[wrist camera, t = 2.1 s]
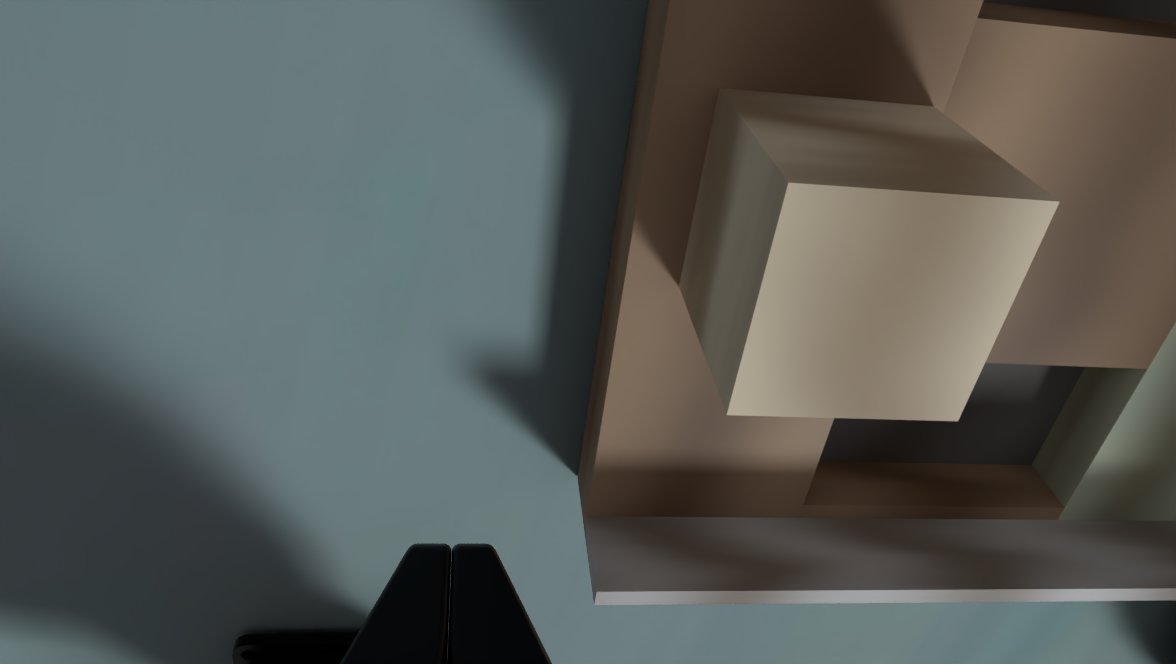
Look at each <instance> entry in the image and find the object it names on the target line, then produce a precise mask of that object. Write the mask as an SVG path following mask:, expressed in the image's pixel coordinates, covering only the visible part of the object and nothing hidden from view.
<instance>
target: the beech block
mask: <svg viewBox="0 0 1176 664" xmlns="http://www.w3.org/2000/svg"><path fill="white" fill-rule="evenodd" d="M1059 202H1060V201H1058V200H1057V199H1056V198H1054V197H1053V196H1052V195H1050V194H1049V193H1048V192H1046V191H1045V190H1044V189H1042V188H1041V187H1040V186H1038V185H1037V184H1036V183H1034V182H1033V181H1032V180H1030V179H1029V178H1028V177H1027V176H1025V175H1024V174H1023V173H1021V172H1020V171H1019V170H1017V169H1016V168H1015V167H1013V166H1012V165H1011V164H1009V163H1008V162H1007V161H1005V160H1004V159H1003V158H1001V157H1000V156H999V155H997V154H996V153H995V152H993V151H992V150H991V149H989V148H988V147H987V146H986V145H984V144H983V143H982V142H980V141H979V140H978V139H976V138H975V137H974V136H972V135H971V134H970V133H968V132H967V131H966V130H964V129H963V128H962V127H960V126H959V125H958V124H956V123H955V122H954V121H952V120H951V119H950V118H948V117H947V116H946V115H945V114H943V113H942V112H941V111H939V110H938V109H937V108H935V107H934V106H923V105H911V104H900V103H888V102H876V101H865V100H853V99H842V98H830V97H819V96H807V95H796V94H784V93H773V92H761V91H749V90H738V89H726V88H719V92H718V97H717V102H716V107H715V112H714V117H713V122H712V126H711V131H710V136H709V141H708V146H707V151H706V156H705V161H704V166H703V171H702V176H701V180H700V185H699V190H698V195H697V200H696V205H695V210H694V215H693V220H692V225H691V230H690V234H689V239H688V244H687V249H686V254H685V259H684V264H683V269H682V274H681V279H680V284H679V289H680V291H681V294H682V297H683V299H684V302H685V305H686V307H687V310H688V313H689V315H690V318H691V321H692V323H693V326H694V329H695V332H696V334H697V337H698V340H699V342H700V345H701V348H702V350H703V353H704V356H705V358H706V361H707V364H708V366H709V369H710V372H711V375H712V377H713V380H714V383H715V385H716V388H717V391H718V393H719V396H720V399H721V401H722V404H723V407H724V410H725V412H726V415H738V416H776V417H813V418H851V419H889V420H926V421H958V420H959V418H960V416H961V414H962V412H963V409H964V407H965V405H966V403H967V401H968V399H969V397H970V394H971V392H972V390H973V388H974V386H975V384H976V381H977V379H978V377H979V375H980V373H981V371H982V368H983V366H984V364H985V362H986V360H987V358H988V356H989V353H990V351H991V349H992V347H993V345H994V343H995V340H996V338H997V336H998V334H999V332H1000V330H1001V327H1002V325H1003V323H1004V321H1005V319H1006V317H1007V314H1008V312H1009V310H1010V308H1011V306H1012V304H1013V302H1014V299H1015V297H1016V295H1017V293H1018V291H1019V289H1020V286H1021V284H1022V282H1023V280H1024V278H1025V276H1026V273H1027V271H1028V269H1029V267H1030V265H1031V263H1032V261H1033V258H1034V256H1035V254H1036V252H1037V250H1038V248H1039V245H1040V243H1041V241H1042V239H1043V237H1044V235H1045V232H1046V230H1047V228H1048V226H1049V224H1050V222H1051V219H1052V217H1053V215H1054V213H1055V211H1056V209H1057V207H1058V204H1059Z"/></svg>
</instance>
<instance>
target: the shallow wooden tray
mask: <svg viewBox="0 0 1176 664" xmlns="http://www.w3.org/2000/svg"><path fill="white" fill-rule="evenodd" d="M719 88H726V89H738V90H749V91H761V92H773V93H784V94H796V95H807V96H819V97H830V98H842V99H853V100H865V101H876V102H888V103H900V104H911V105H923V106H934V107H935V108H937V109H938V110H939V111H941V112H942V113H943V114H945V115H946V116H947V117H948V118H950V119H951V120H952V121H954V122H955V123H956V124H958V125H959V126H960V127H962V128H963V129H964V130H966V131H967V132H968V133H970V134H971V135H972V136H974V137H975V138H976V139H978V140H979V141H980V142H982V143H983V144H984V145H986V146H987V147H988V148H989V149H991V150H992V151H993V152H995V153H996V154H997V155H999V156H1000V157H1001V158H1003V159H1004V160H1005V161H1007V162H1008V163H1009V164H1011V165H1012V166H1013V167H1015V168H1016V169H1017V170H1019V171H1020V172H1021V173H1023V174H1024V175H1025V176H1027V177H1028V178H1029V179H1030V180H1032V181H1033V182H1034V183H1036V184H1037V185H1038V186H1040V187H1041V188H1042V189H1044V190H1045V191H1046V192H1048V193H1049V194H1050V195H1052V196H1053V197H1054V198H1056V199H1057V200H1058V201H1060V202H1059V204H1058V207H1057V209H1056V211H1055V213H1054V215H1053V217H1052V219H1051V222H1050V224H1049V226H1048V228H1047V230H1046V232H1045V235H1044V237H1043V239H1042V241H1041V243H1040V245H1039V248H1038V250H1037V252H1036V254H1035V256H1034V258H1033V261H1032V263H1031V265H1030V267H1029V269H1028V271H1027V273H1026V276H1025V278H1024V280H1023V282H1022V284H1021V286H1020V289H1019V291H1018V293H1017V295H1016V297H1015V299H1014V302H1013V304H1012V306H1011V308H1010V310H1009V312H1008V314H1007V317H1006V319H1005V321H1004V323H1003V325H1002V327H1001V330H1000V332H999V334H998V336H997V338H996V340H995V343H994V345H993V347H992V349H991V351H990V353H989V356H988V358H987V360H986V362H985V364H984V366H983V368H982V371H981V373H980V375H979V377H978V379H977V381H976V384H975V386H974V388H973V390H972V392H971V394H970V397H969V399H968V401H967V403H966V405H965V407H964V409H963V412H962V414H961V416H960V418H959V420H958V421H926V420H889V419H851V418H813V417H776V416H738V415H726V412H725V410H724V407H723V404H722V401H721V399H720V396H719V393H718V391H717V388H716V385H715V383H714V380H713V377H712V375H711V372H710V369H709V366H708V364H707V361H706V358H705V356H704V353H703V350H702V348H701V345H700V342H699V340H698V337H697V334H696V332H695V329H694V326H693V323H692V321H691V318H690V315H689V313H688V310H687V307H686V305H685V302H684V299H683V297H682V294H681V291H680V289H679V284H680V279H681V274H682V269H683V264H684V259H685V254H686V249H687V244H688V239H689V234H690V230H691V225H692V220H693V215H694V210H695V205H696V200H697V195H698V190H699V185H700V180H701V176H702V171H703V166H704V161H705V156H706V151H707V146H708V141H709V136H710V131H711V126H712V122H713V117H714V112H715V107H716V102H717V97H718V92H719ZM578 484H579V492H580V499H581V507H582V515H583V523H584V530H585V538H586V546H587V553H588V561H589V569H590V577H591V584H592V592H593V600H594V605H669V604H791V603H914V602H1036V601H1159V600H1176V0H649V1H648V7H647V14H646V21H645V28H644V34H643V41H642V48H641V54H640V61H639V68H638V75H637V81H636V88H635V95H634V102H633V108H632V115H631V122H630V129H629V135H628V142H627V149H626V156H625V162H624V169H623V176H622V183H621V189H620V196H619V203H618V210H617V216H616V223H615V230H614V236H613V243H612V250H611V257H610V263H609V270H608V277H607V284H606V290H605V297H604V304H603V311H602V317H601V324H600V331H599V338H598V344H597V351H596V358H595V365H594V371H593V378H592V385H591V392H590V398H589V405H588V412H587V418H586V425H585V432H584V439H583V445H582V452H581V459H580V466H579V472H578Z"/></svg>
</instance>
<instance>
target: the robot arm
mask: <svg viewBox="0 0 1176 664" xmlns="http://www.w3.org/2000/svg"><path fill="white" fill-rule="evenodd" d="M450 575H451V586H450ZM449 600H450V609H449ZM448 624H449V633H448ZM447 648H448V658H447ZM232 656H233V661H234V664H552V663H551V661H550V659H549V657H548V655H547V653H546V651H545V649H544V647H543V645H542V643H541V641H540V639H539V637H538V635H537V633H536V631H535V629H534V627H533V625H532V623H531V621H530V619H529V617H528V615H527V612H526V610H525V608H524V606H523V604H522V602H521V600H520V598H519V596H518V594H517V592H516V590H515V588H514V586H513V584H512V582H511V580H510V578H509V576H508V574H507V572H506V570H505V568H504V566H503V564H502V562H501V560H500V558H499V556H498V554H497V552H496V550H495V549H494V548H493V546H491V545H489V544H457V545H455V546H454V547H453V549H452V562H451V548H450V546H449V545H447V544H414V545H412V546H410V548H409V549H408V550H407V551H406V553H405V555H404V556H403V558H402V560H401V561H400V563H399V565H398V566H397V568H396V570H395V572H394V573H393V575H392V577H391V578H390V580H389V582H388V583H387V585H386V587H385V588H384V590H383V592H382V594H381V595H380V597H379V599H378V600H377V602H376V604H375V605H374V607H373V609H372V610H371V612H370V614H369V616H368V617H367V619H366V621H365V622H364V624H363V626H362V627H361V629H360V631H359V632H358V633H313V634H249V635H243V636H241V637H239V638H238V639H237V640H236V643H235V646H234V650H233V655H232Z"/></svg>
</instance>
